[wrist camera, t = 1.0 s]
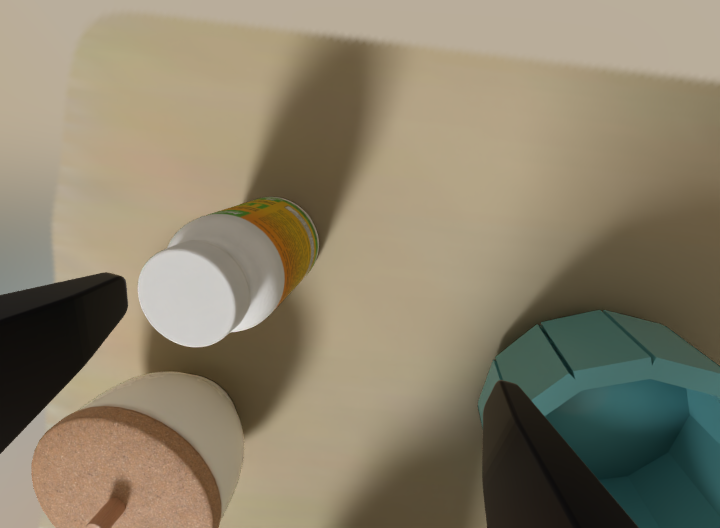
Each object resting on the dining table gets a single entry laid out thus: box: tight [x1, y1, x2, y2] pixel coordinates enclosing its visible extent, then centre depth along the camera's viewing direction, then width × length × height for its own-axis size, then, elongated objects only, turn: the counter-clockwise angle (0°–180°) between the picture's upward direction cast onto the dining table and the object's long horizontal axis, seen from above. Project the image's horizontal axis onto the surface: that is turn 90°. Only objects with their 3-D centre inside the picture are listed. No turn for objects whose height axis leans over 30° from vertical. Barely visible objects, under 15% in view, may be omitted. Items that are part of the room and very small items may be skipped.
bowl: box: [478, 310, 720, 528], centre depth 21 cm, size 12×12×6 cm
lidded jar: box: [32, 371, 244, 528], centre depth 24 cm, size 11×11×9 cm
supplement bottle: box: [138, 197, 319, 347], centre depth 19 cm, size 5×5×10 cm
